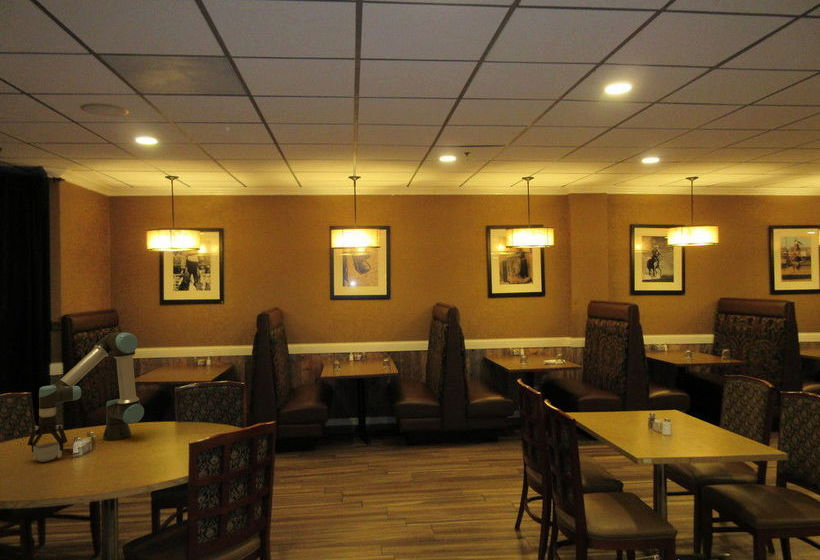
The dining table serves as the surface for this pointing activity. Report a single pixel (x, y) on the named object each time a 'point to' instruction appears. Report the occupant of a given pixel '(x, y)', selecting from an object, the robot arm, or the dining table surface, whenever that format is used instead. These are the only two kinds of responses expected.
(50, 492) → the dining table surface
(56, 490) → the dining table surface
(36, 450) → the teacup
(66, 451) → the stop bar
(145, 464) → the dining table surface
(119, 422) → the robot arm
